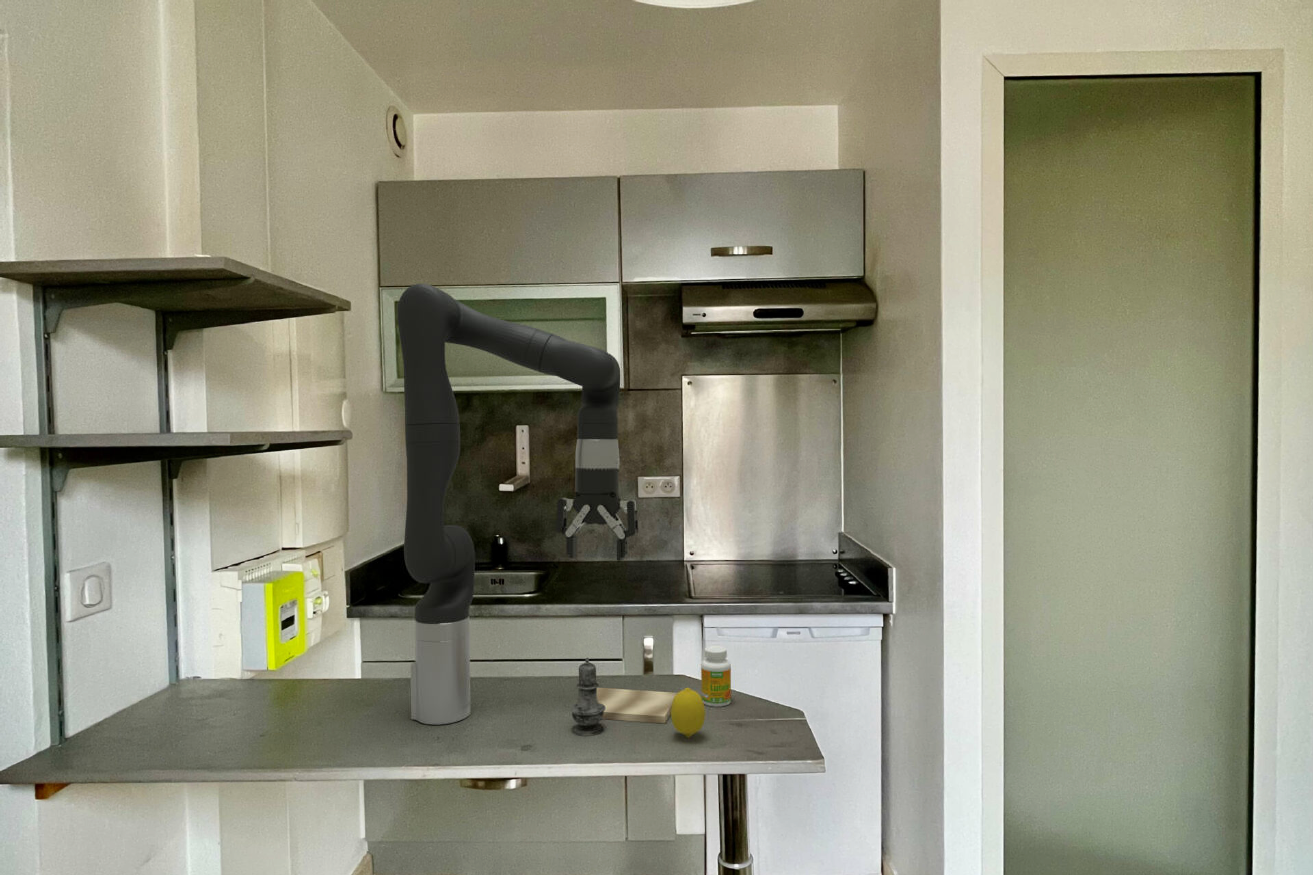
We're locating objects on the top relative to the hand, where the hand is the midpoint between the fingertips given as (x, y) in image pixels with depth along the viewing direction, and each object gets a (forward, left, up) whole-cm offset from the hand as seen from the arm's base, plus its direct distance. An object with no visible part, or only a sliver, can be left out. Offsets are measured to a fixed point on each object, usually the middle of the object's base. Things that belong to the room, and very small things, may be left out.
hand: (596, 559), depth 132 cm
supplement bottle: (+19, +12, -28) cm, 36 cm away
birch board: (+4, +6, -28) cm, 28 cm away
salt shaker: (0, -5, -28) cm, 28 cm away
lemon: (+17, -5, -28) cm, 33 cm away
